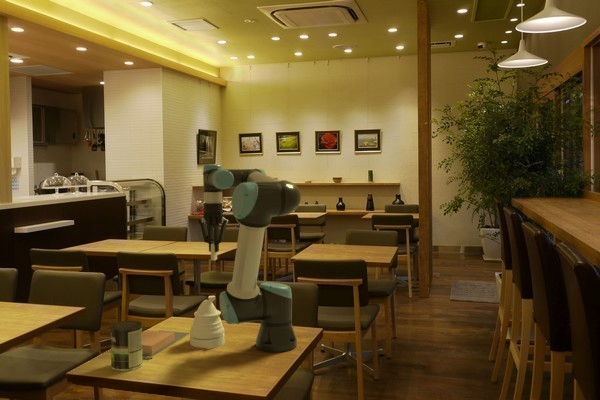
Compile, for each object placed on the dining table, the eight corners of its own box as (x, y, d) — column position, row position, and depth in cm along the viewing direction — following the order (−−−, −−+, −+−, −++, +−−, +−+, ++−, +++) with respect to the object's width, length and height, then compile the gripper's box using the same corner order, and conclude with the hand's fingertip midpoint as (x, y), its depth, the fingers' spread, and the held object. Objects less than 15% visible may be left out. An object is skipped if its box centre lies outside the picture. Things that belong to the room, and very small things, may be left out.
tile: (146, 330, 215) (122, 343, 200) (174, 332, 211) (151, 345, 196) (146, 338, 215) (122, 352, 200) (174, 341, 212) (151, 355, 196)
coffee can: (112, 373, 181) (111, 330, 180) (109, 363, 190) (108, 322, 189) (145, 368, 185) (144, 326, 184) (141, 358, 194) (140, 319, 193)
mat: (149, 359, 193) (149, 358, 193) (114, 356, 197) (114, 354, 197) (190, 334, 222) (190, 333, 222) (159, 331, 226) (159, 330, 226)
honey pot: (228, 338, 216) (227, 292, 215) (220, 349, 203) (219, 300, 202) (195, 337, 217) (194, 292, 216) (185, 348, 205) (184, 300, 204)
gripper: (231, 202, 229) (232, 259, 230) (202, 201, 232) (203, 257, 234) (224, 203, 222) (225, 262, 223) (194, 202, 225) (195, 260, 227)
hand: (214, 259), depth 229 cm, fingers closed
